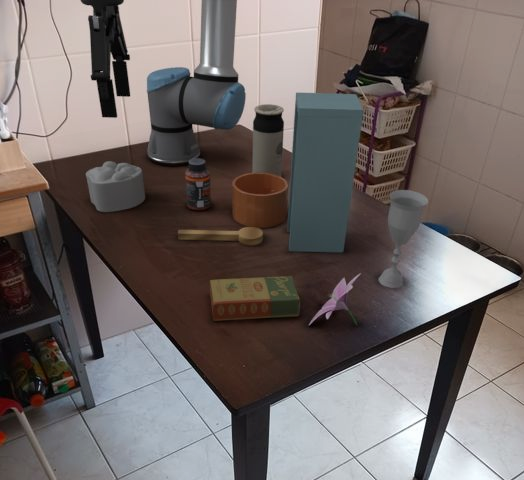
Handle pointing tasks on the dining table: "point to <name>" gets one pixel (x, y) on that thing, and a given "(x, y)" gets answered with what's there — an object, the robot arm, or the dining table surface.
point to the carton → (254, 298)
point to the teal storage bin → (322, 170)
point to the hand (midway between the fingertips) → (117, 106)
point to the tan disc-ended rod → (225, 235)
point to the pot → (259, 199)
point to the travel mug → (268, 139)
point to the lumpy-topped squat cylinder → (115, 186)
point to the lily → (337, 299)
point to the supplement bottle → (198, 185)
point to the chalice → (402, 229)
